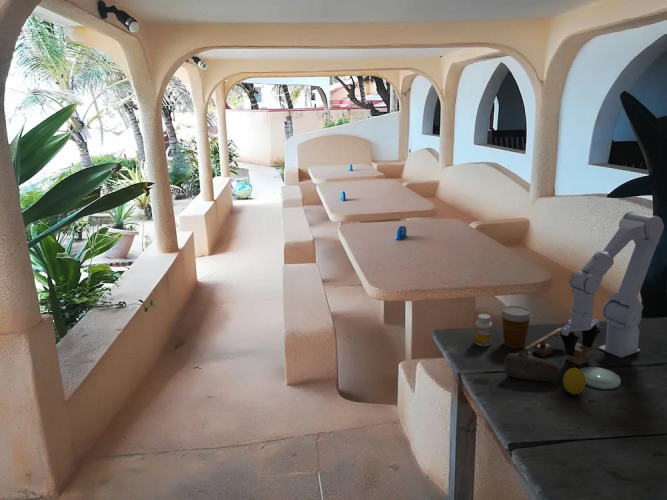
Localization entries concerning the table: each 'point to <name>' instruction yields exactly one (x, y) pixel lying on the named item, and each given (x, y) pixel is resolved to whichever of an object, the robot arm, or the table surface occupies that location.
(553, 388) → the table surface
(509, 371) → the perforated stone tool
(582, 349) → the block
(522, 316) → the disposable coffee cup
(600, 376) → the dish
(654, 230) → the robot arm
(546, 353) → the balance
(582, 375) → the lemon
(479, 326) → the supplement bottle
